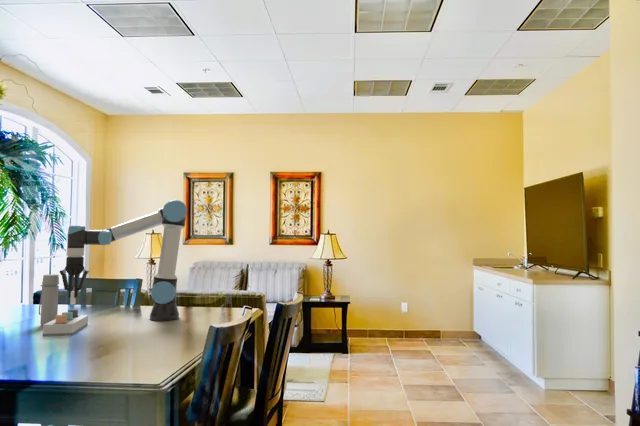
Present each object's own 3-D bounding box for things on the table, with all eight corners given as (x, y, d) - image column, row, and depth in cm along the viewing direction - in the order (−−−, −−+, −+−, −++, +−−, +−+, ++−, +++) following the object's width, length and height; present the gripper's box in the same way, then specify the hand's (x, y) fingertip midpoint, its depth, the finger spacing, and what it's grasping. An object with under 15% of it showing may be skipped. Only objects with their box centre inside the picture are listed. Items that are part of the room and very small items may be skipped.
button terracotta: (67, 325, 199) (68, 314, 200) (64, 327, 195) (64, 316, 195) (57, 325, 198) (57, 314, 199) (53, 327, 194) (54, 316, 194)
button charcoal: (78, 319, 214) (79, 309, 214) (75, 321, 210) (76, 310, 210) (69, 319, 213) (69, 309, 213) (65, 321, 209) (66, 310, 209)
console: (87, 325, 216) (88, 315, 216) (72, 335, 194) (72, 324, 195) (61, 325, 213) (61, 315, 214) (42, 336, 192) (43, 324, 192)
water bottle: (60, 323, 219) (63, 274, 220) (49, 326, 211) (52, 275, 213) (44, 322, 220) (46, 274, 221) (32, 326, 212) (35, 275, 214)
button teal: (73, 322, 207) (74, 311, 207) (70, 324, 202) (70, 313, 203) (63, 322, 206) (64, 312, 206) (60, 324, 202) (60, 313, 202)
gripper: (91, 256, 218) (89, 303, 217) (63, 256, 215) (61, 303, 214) (87, 257, 211) (84, 305, 210) (57, 256, 208) (55, 305, 207)
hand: (72, 304), depth 212 cm, fingers closed
